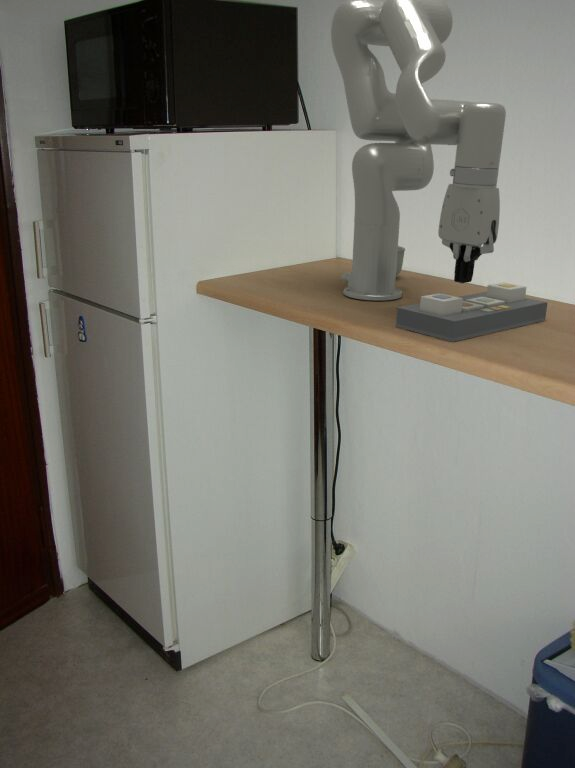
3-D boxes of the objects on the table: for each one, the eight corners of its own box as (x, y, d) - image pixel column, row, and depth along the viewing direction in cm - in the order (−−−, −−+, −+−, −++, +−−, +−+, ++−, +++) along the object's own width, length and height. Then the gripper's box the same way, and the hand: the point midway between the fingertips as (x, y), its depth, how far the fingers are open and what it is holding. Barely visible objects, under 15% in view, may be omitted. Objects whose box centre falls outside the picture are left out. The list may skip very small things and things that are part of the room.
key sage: (464, 315, 145) (465, 298, 144) (480, 311, 148) (482, 295, 147) (486, 320, 141) (488, 303, 140) (503, 316, 144) (505, 300, 143)
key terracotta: (441, 319, 141) (443, 302, 140) (459, 316, 144) (461, 299, 143) (464, 325, 137) (466, 308, 136) (482, 321, 140) (484, 304, 139)
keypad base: (395, 326, 139) (397, 306, 138) (489, 308, 156) (491, 289, 155) (452, 342, 130) (454, 320, 129) (545, 320, 147) (547, 301, 146)
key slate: (419, 312, 136) (420, 295, 135) (438, 309, 140) (439, 292, 139) (442, 318, 133) (444, 300, 132) (461, 314, 136) (462, 297, 135)
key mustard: (486, 300, 148) (487, 284, 147) (502, 297, 152) (503, 281, 151) (508, 305, 145) (510, 288, 144) (524, 302, 148) (526, 286, 147)
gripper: (428, 174, 136) (418, 276, 142) (498, 182, 125) (483, 292, 132) (454, 173, 141) (443, 272, 147) (524, 181, 130) (509, 287, 136)
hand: (462, 281), depth 139 cm, fingers closed
